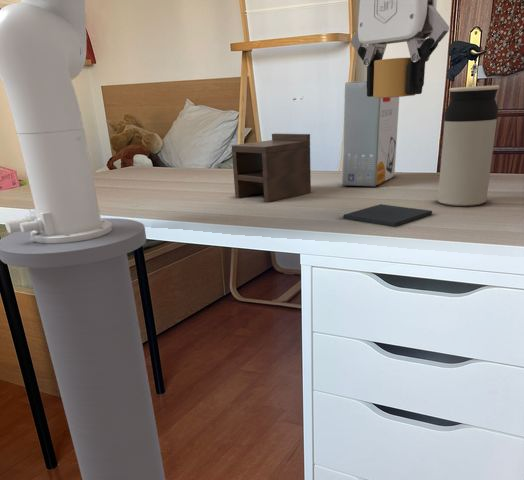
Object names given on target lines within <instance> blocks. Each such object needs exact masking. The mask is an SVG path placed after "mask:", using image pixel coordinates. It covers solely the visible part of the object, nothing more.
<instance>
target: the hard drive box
mask: <svg viewBox="0 0 524 480" xmlns="http://www.w3.org/2000/svg"><path fill="white" fill-rule="evenodd" d="M343 100H344V102H343V130H342V131H343V132H342V165H341V166H342V167H341V186H358V187H376V186H378V185H381V184H382V183H384V182H386V181H389V180H391V179H392V178H394V177H395V173H396V155H397V142H398V141H397V139H398V123H399V110H400V107H399V106H400V97H387V98H373V97H368V96H367V80H363V81H362V80H361V81H348V82H347V81H346V82H345V83H344V99H343Z"/></svg>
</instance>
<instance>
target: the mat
mask: <svg viewBox="0 0 524 480" xmlns="http://www.w3.org/2000/svg"><path fill="white" fill-rule="evenodd" d="M430 215H433V210H429V209H421V208H415V207H414V208H413V207H404V206H398V205H397V206H396V205H391V204H377V205H373V206H370V207H366V208H362V209H358V210H356V211H352V212H351V211H350V212H348V213H344V214H343V215H342V219H346V220H352V221H358V222H364V223H372V224H378V225H384V226H389V227H397V226H400V225H404V224H406V223H410V222H413V221H416V220H419V219H422V218H425V217H427V216H430Z"/></svg>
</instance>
